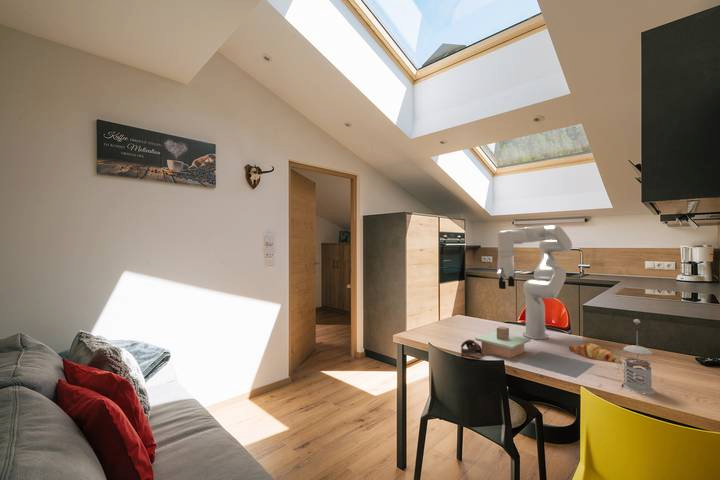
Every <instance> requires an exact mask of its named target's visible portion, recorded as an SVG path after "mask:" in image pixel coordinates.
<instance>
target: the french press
mask: <svg viewBox="0 0 720 480" xmlns="http://www.w3.org/2000/svg"><path fill="white" fill-rule="evenodd" d="M633 323H635V324H640V323H641V321H640V319H637V318H636V319H633ZM638 338H639V337H638V332H636V345H633V344H632V345H626V346H625V347H623V348H622V349H623V350H621V351H618V352H617V354H615V355H616V365H617V367H618V368H619V369H620V370H621V371H623V383H622V384H621V385H620V387H621V386H622V387H621V388H623V389H624V388H625V389H624V390H626V389H628V390H627V391H629V390H630V391H629V392H632V391H634V392H633V393H635V392H638V393H637V394H640V393H645V394H644V395H653V394H652V393H654V392H656V390H655V389H654V388H653V387H652V383H653V382H652V381H653V380H652V367H651V366H650V365H651V363H650V362H649V361H648V360H644V359H640V358H639V356H650V355H652V354H653V352H652V351H651V350H649V349H648V348H646V347H645V346H640V345H639V344H638V343H639V341H638ZM622 353H623V355H624V356H626V355H628V353H630V354H634V355H636V358H633V357H628V358H624V361H625V362H624V363H623V365H622V362H621V363H620V360H621V359H620V360H619V363H617V357H620V356H621V354H622ZM619 365H620V366H619ZM654 390H655V391H654ZM654 394H655V393H654Z"/></svg>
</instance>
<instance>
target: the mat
mask: <svg viewBox="0 0 720 480" xmlns="http://www.w3.org/2000/svg"><path fill="white" fill-rule="evenodd" d="M518 363H520V364H523V365H527V366H531V367H535V368H538V369H542V370H546V371H550V372H553V373H556V374H560V375H565V376H568V377H570V378H571V377H573V378H575V379H576V378H579V377H580V376H581V375H582V374H584V373H585V372H586V371H588V370H589V369H591V368H592V367H593V366H594V365H596V364H595V363H593V362H588V361H584V360H580V359H576V358H571V357H567V356H564V355H563V356H562V355H559V354H556V353H555V354H554V353H549V352H545V351H539V352H537V353H534V354H533V355H531V356H529V357H527V358H524V359H523V360H521V361H519V362H518Z"/></svg>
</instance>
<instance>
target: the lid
mask: <svg viewBox="0 0 720 480" xmlns="http://www.w3.org/2000/svg"><path fill="white" fill-rule="evenodd" d="M531 340H532V338H527V337H525V336H519V335H514V334H513V335H512V334H510V329H509V327H506V326H505V327H504V326H498V327H496V330H495V331H492V332H489V333H486V334H483V335H481V336H478V337H475V341H477V342H485V343H489V344H493V345H498V346H502V347H506V348H510V349H514V348H516V347H518V346H520V345H523V344H524V345H526V344H527V343H529V342H531Z"/></svg>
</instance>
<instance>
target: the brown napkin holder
mask: <svg viewBox="0 0 720 480" xmlns="http://www.w3.org/2000/svg"><path fill="white" fill-rule="evenodd" d="M464 346H465V347H467V349H466V348H464ZM460 347H461V348H460V354H461V356H462V357H463V356H469V355H473V354H475V355H476V354H480V355H481V357H484V353H483V352H482V346H481V345H480V344H479V343H478V342H476V340H473V339H467V340H465V341H463V342H462V344H461V345H460Z"/></svg>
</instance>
